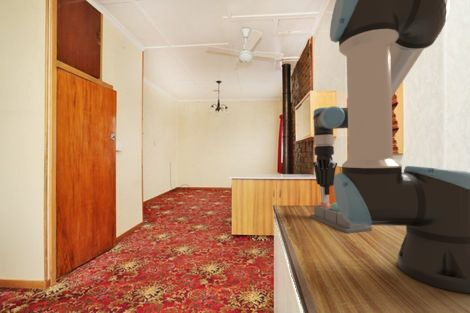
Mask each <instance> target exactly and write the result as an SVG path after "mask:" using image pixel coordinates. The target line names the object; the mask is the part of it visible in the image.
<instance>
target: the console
mask: <svg viewBox="0 0 470 313" xmlns="http://www.w3.org/2000/svg"><path fill="white" fill-rule="evenodd" d="M313 209H314V210H313V211H314V212H313V213H314V214H313V213H312V214H309V218H310V219H313V220H315V221H318V222H320V223H323V224H325V225H327V226H329V227H332V228H333V229H336V230H338V231H341V232H343V233H346V234H353V233H363V232H369V231H372V230H373V227H372V226H366V225H356V224H351V223H349V222H347V221H346V220H345V219H344V218H343V216H342V215H341V213H340V212H335V211H332V204H330V207H329V208H323V207H321V204H316V205H313Z"/></svg>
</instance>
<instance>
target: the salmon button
mask: <svg viewBox="0 0 470 313" xmlns="http://www.w3.org/2000/svg"><path fill="white" fill-rule="evenodd" d="M320 205H321V207H323V208H329V207H330V205H331V202H330V201H329V202H328V203H322V202H320Z"/></svg>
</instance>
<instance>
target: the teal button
mask: <svg viewBox="0 0 470 313" xmlns="http://www.w3.org/2000/svg"><path fill="white" fill-rule="evenodd" d="M331 206H332V211H335V212H340V211H339V208H338V206H337V202H331Z"/></svg>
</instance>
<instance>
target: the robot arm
mask: <svg viewBox="0 0 470 313" xmlns="http://www.w3.org/2000/svg"><path fill="white" fill-rule="evenodd" d="M450 4H451V2H450V0H335V3H334V6H333V11H332V15H331V21H330V27H329V37H330V41H331V42H333V43H338V51H339V53H340V54H342V55H343V56H345V58H346V88H347V90H346V93H347V107H339V106H335V105H334V106H329V107H319V108H315V109H314V111H313V119H312V120H313V145H314V148H313V151H314V155H315V156H316V159H315V161H313V162H312V165H313V168H314V174H315V178H316V179H315V180H316V185H319V186H320V197H321V202H322V203H328V202H329V203H330V194H331V193H330V191H331V190H330V187H332V186H333V193H334V194H333V195H334V198H335V203H337V206H338V208H339V211H340V213H341V215H342V216H343V218H344V219H345V220H346V221H347V222H349V223H351V224H356V225H366V226H370V227H372V226H391V227H393V226H394V227H396V226H397V227H398V226H399V227H400V226H402V227H405V230H406V233H405V236H404V238H403V241H402V244H401V246H400V248H399V251H398V253H397V265H398V267H399V269H400V271H402V272H403V273H404V274H406V275H408V276H409V277H411V278H413V279H415V280H416V281H419V282H421V283H424V284H427V285H429V286H433V287H436V288H438V289H443V290H447V291H451V292H457V293H462V294H463V293H464V294H470V172H468V171H465V170H458V169H457V170H455V169H449V168H448V169H447V168H446V169H445V168H437V167H436V168H435V167H427V166H415V165H413V166H412V165H407V166H405V167H404V169H402V168H403V167H402V166H403V165H402V164H401V163H400V162H399V161H397V160H396V159H395V158H394V154H393V153H394V152H393V150H394V149H393V148H394V146H393V145H394V144H393V100H392V99H393V97H394V96H395V94H396V92H397V91H398V89H399V88H400V87H401V84H402V83H403V81H404V80H405V79H406V77H407V76H408V74H409V72H410V71H411V69H412V68H413V66H414V65H415V64H416V62H417V60H418V59H419V57H420V56H421V54H422V53H423V51H424V50H425V49H427V48H429V47H431V46H433V44H434V43H435V41H436V40H437V38H438V37H439V35H440V34H441V32H442V30H443V29H444V27H445V25H446V21H447V18H448V15H449V11H450ZM334 129H336V130H337V129H347V132H348V136H347V137H348V142H347V143H348V158H347V160H345V161H344V162H343V163H342V164H341V172H338V173H336V169H337V166H338V162H334V161H333V160H334V159H333V157H332V156H333V155H334V154H335V151H334V150H335V148H334V146H333V145H334ZM402 171H403V172H402ZM321 202H320V203H321Z"/></svg>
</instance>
